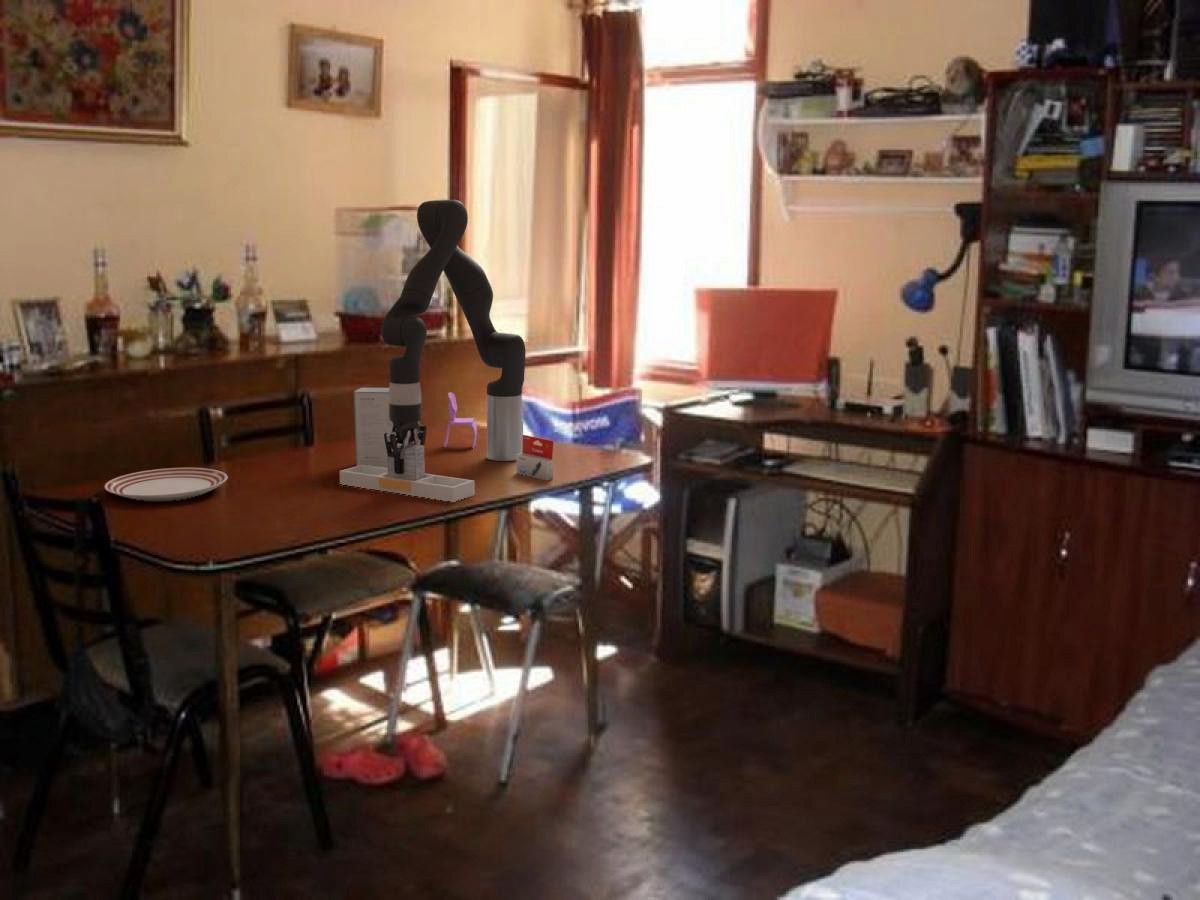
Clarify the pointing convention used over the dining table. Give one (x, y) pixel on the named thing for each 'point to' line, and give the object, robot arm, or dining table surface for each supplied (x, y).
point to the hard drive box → (371, 426)
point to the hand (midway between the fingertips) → (406, 471)
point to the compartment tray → (408, 483)
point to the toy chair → (458, 419)
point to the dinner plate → (166, 484)
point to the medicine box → (409, 463)
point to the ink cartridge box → (536, 458)
